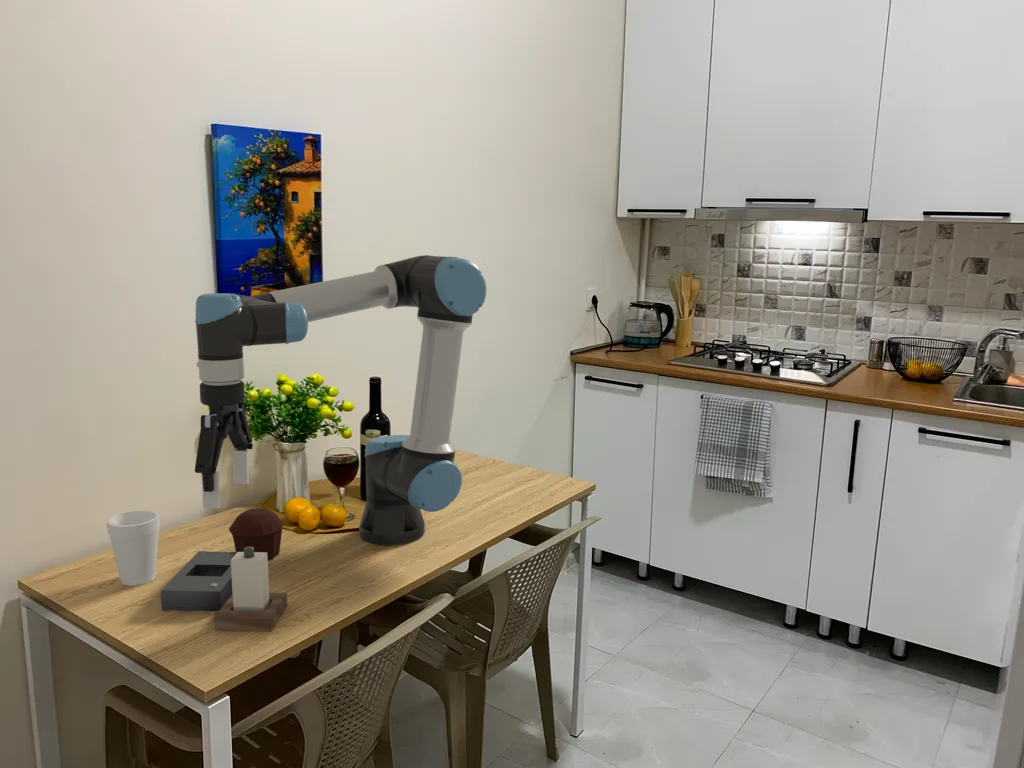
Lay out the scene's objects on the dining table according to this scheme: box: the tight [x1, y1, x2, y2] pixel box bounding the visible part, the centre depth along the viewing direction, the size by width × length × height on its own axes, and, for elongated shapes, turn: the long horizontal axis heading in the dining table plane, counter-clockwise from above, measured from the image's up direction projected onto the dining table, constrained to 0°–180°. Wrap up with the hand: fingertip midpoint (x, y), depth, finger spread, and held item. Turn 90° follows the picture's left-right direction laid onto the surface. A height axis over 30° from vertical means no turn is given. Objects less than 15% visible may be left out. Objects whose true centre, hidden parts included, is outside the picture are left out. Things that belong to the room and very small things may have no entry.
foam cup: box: [106, 509, 161, 587], centre depth 162 cm, size 10×9×13 cm
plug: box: [231, 546, 270, 611], centre depth 147 cm, size 4×5×14 cm, turn 89°
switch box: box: [160, 551, 237, 613], centre depth 159 cm, size 18×11×4 cm, turn 179°
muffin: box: [228, 507, 285, 561], centre depth 175 cm, size 12×11×10 cm
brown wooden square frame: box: [213, 592, 288, 633], centre depth 148 cm, size 10×10×2 cm
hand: (227, 495), depth 148 cm, fingers open, 13 cm apart
